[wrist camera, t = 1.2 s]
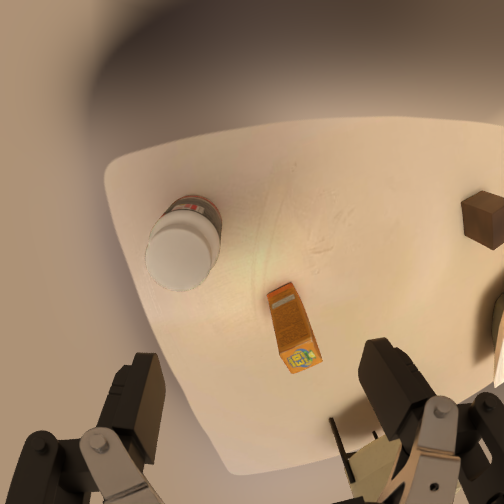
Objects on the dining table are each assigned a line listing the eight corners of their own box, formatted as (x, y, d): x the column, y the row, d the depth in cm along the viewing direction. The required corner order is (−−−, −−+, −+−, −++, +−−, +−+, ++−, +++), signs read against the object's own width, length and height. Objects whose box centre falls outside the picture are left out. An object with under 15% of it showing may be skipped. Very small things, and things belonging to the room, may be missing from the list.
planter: (338, 446, 46) (369, 539, 25) (322, 410, 41) (362, 533, 19) (406, 415, 45) (451, 500, 24) (406, 371, 40) (472, 476, 18)
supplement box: (263, 294, 32) (277, 353, 23) (291, 280, 32) (315, 335, 22) (275, 316, 33) (292, 376, 24) (302, 303, 33) (327, 360, 23)
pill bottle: (165, 194, 27) (134, 219, 18) (222, 194, 28) (220, 220, 18) (166, 249, 29) (141, 296, 20) (221, 250, 30) (218, 299, 20)
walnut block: (461, 202, 30) (492, 213, 24) (482, 190, 30) (512, 200, 24) (464, 235, 32) (493, 250, 26) (485, 222, 31) (513, 235, 26)
